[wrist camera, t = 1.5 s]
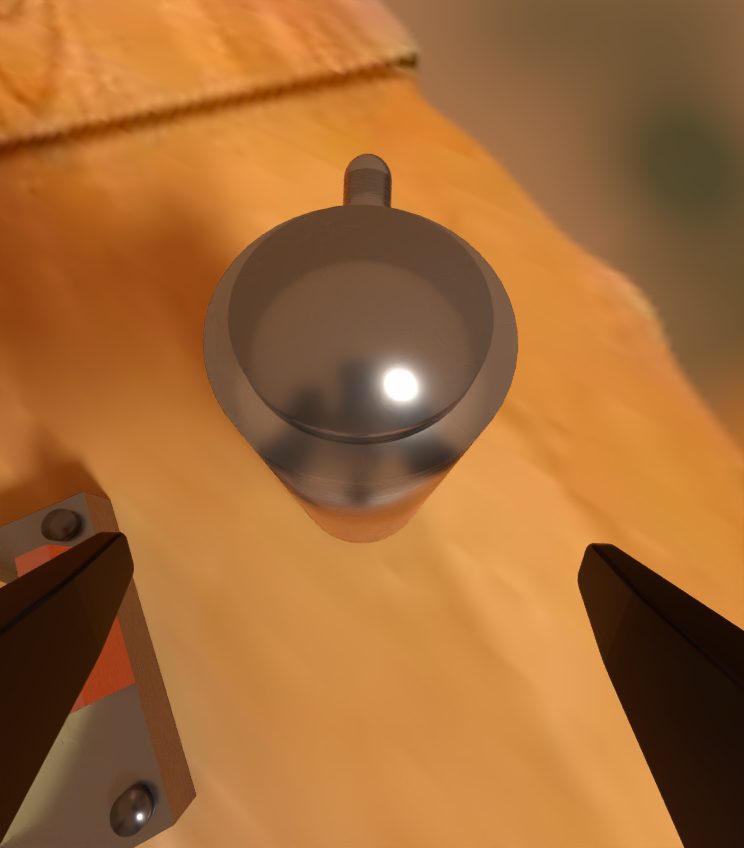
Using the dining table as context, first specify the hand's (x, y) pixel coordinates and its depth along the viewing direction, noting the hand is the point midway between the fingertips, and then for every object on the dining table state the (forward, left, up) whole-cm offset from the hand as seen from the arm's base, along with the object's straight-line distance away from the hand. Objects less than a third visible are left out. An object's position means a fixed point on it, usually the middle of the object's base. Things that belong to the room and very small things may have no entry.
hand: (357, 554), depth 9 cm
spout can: (+5, -2, -11) cm, 12 cm away
